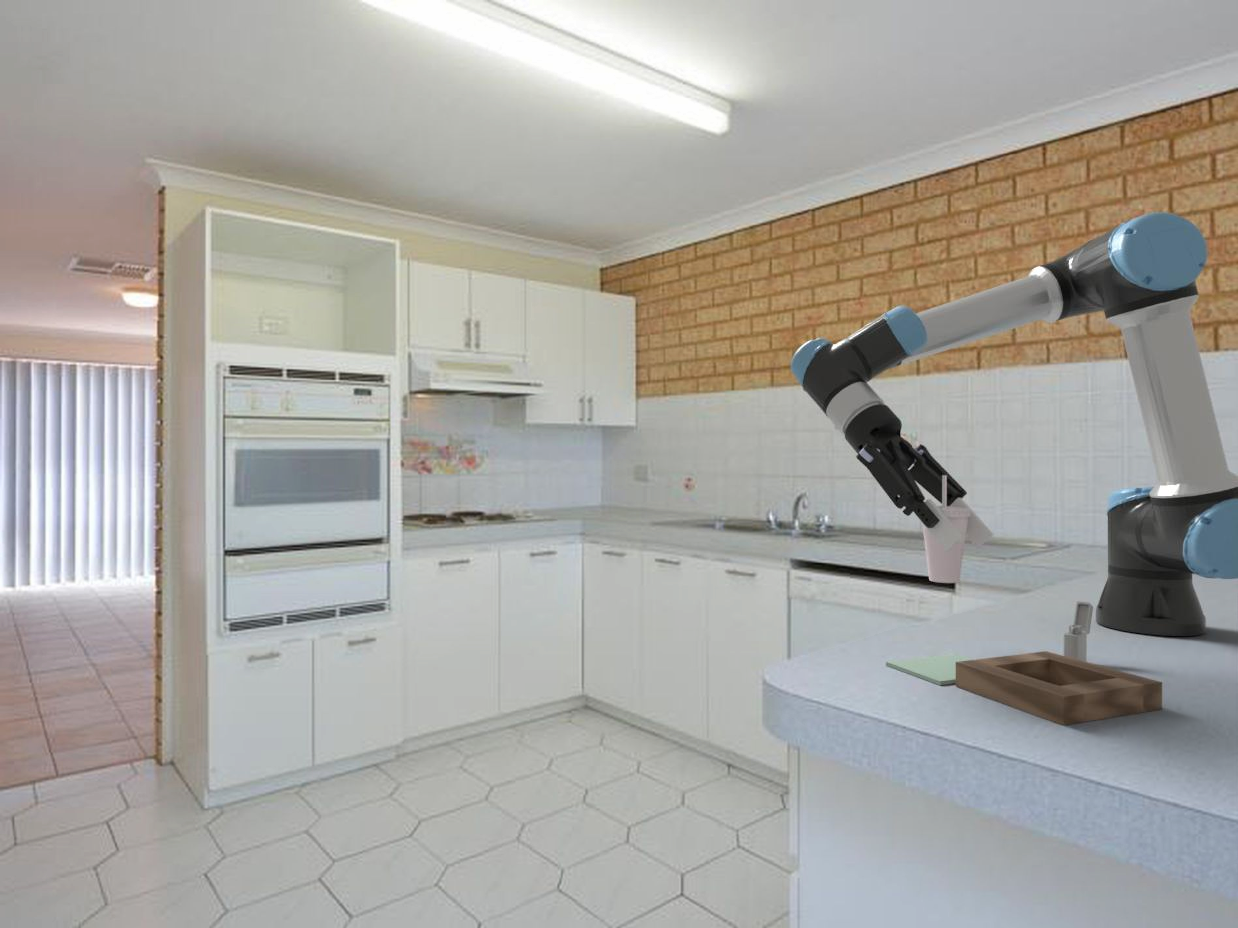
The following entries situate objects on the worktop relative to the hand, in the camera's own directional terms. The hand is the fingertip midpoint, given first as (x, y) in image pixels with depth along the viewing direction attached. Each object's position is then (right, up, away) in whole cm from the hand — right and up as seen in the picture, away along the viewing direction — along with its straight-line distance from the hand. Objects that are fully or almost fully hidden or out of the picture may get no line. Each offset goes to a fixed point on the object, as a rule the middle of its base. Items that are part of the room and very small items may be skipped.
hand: (970, 542), depth 100 cm
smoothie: (-2, -6, +3) cm, 7 cm away
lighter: (+18, -17, +7) cm, 26 cm away
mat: (-2, -17, +3) cm, 18 cm away
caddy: (+6, -17, -9) cm, 20 cm away
